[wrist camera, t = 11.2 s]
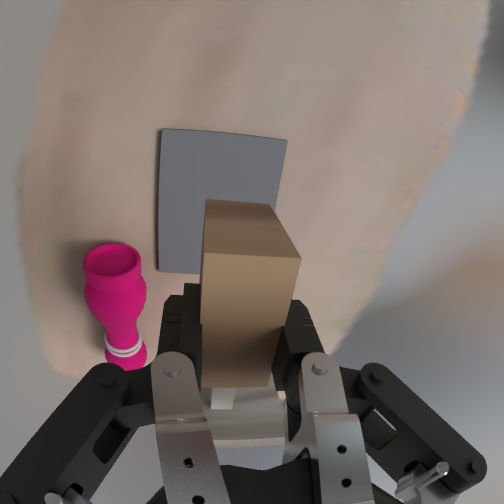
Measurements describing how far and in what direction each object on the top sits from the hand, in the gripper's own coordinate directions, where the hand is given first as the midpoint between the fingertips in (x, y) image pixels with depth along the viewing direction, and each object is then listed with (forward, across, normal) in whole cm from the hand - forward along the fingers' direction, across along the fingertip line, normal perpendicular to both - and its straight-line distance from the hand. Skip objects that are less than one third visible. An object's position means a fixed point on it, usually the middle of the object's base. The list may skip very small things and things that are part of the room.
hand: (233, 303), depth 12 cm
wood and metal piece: (+2, 0, +3) cm, 4 cm away
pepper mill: (+16, +10, +8) cm, 21 cm away
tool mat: (+20, 0, +4) cm, 20 cm away
